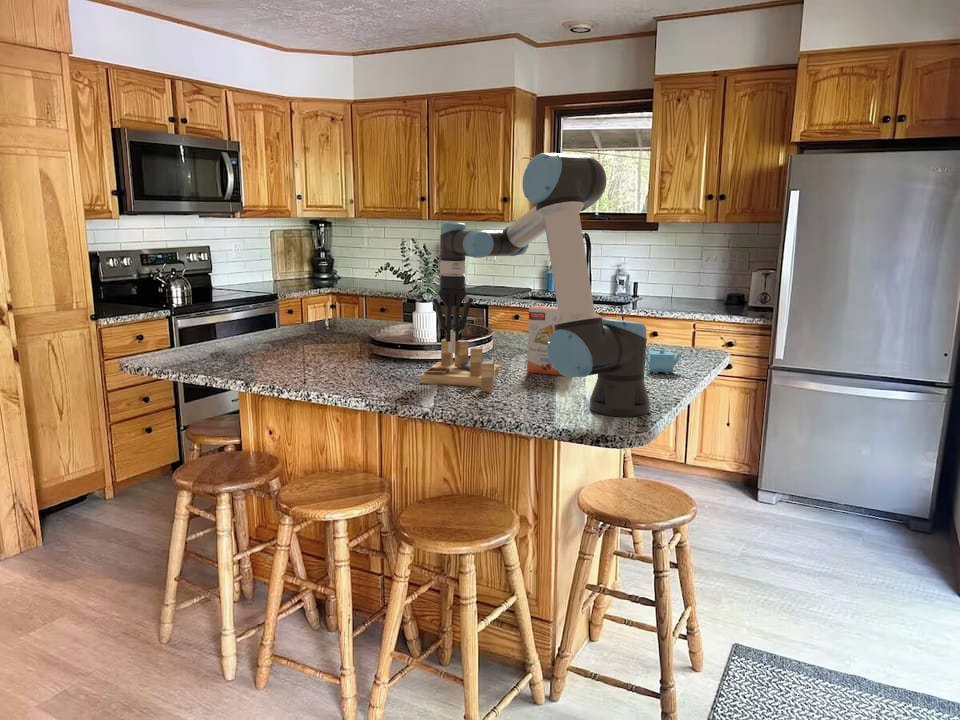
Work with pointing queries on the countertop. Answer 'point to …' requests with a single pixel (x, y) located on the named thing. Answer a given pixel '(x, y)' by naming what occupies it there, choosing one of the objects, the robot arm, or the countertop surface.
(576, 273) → the robot arm
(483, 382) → the loose leg
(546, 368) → the cracker box
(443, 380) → the seat
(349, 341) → the countertop surface
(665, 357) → the teapot
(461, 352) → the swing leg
